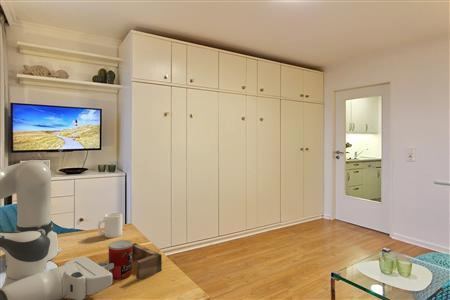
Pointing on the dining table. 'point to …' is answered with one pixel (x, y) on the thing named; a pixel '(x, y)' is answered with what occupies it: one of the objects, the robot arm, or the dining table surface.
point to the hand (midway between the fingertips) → (111, 264)
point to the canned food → (121, 259)
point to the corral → (146, 261)
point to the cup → (111, 225)
